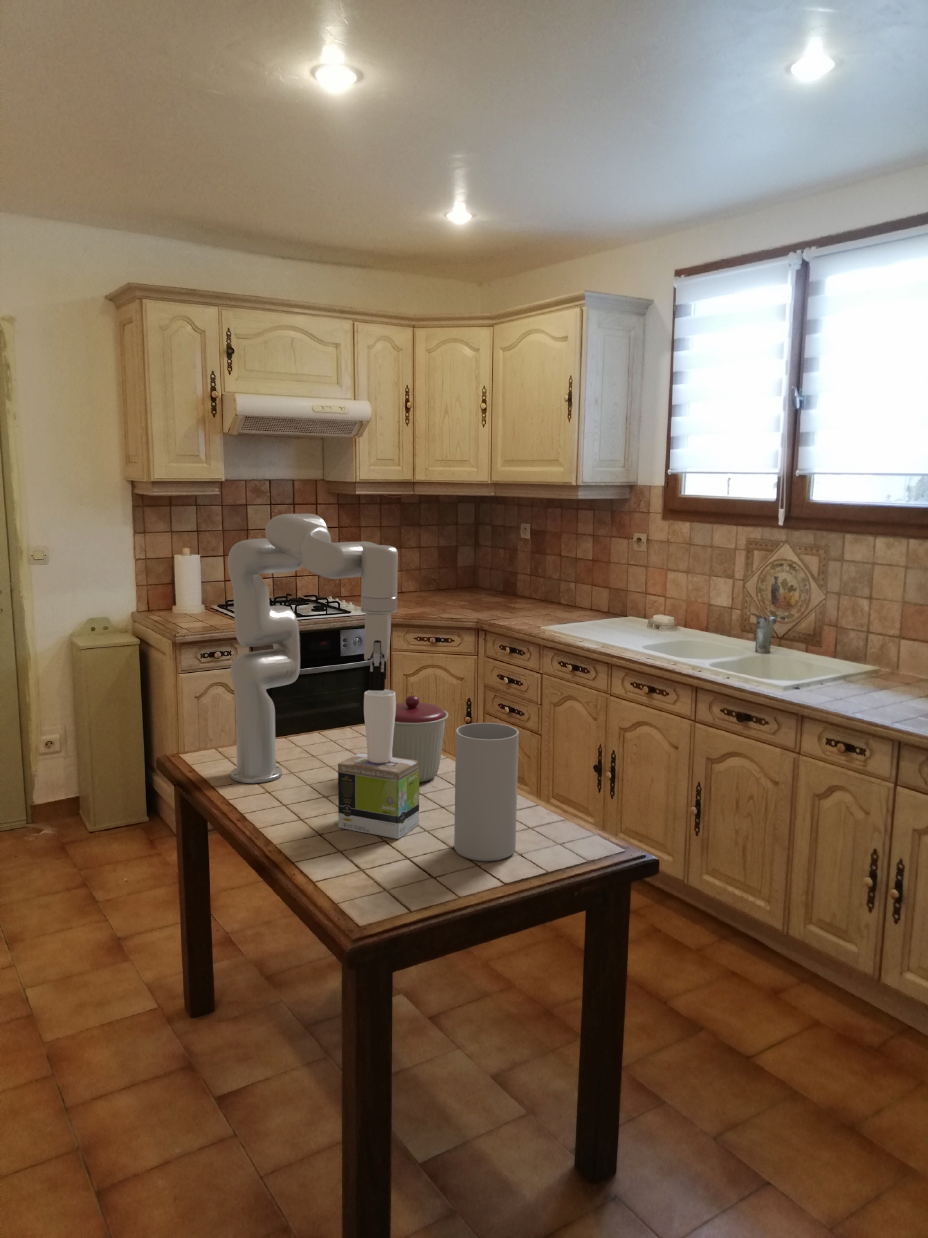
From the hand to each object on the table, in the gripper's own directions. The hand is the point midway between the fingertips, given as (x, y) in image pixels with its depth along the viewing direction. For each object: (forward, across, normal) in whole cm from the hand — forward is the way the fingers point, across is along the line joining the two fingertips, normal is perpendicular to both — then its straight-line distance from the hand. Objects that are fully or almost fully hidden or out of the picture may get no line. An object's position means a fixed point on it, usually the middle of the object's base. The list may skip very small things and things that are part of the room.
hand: (377, 684), depth 191 cm
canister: (+32, -32, +8) cm, 46 cm away
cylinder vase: (+31, +14, +23) cm, 41 cm away
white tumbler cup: (+17, 0, +1) cm, 17 cm away
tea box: (+32, +1, +1) cm, 32 cm away
